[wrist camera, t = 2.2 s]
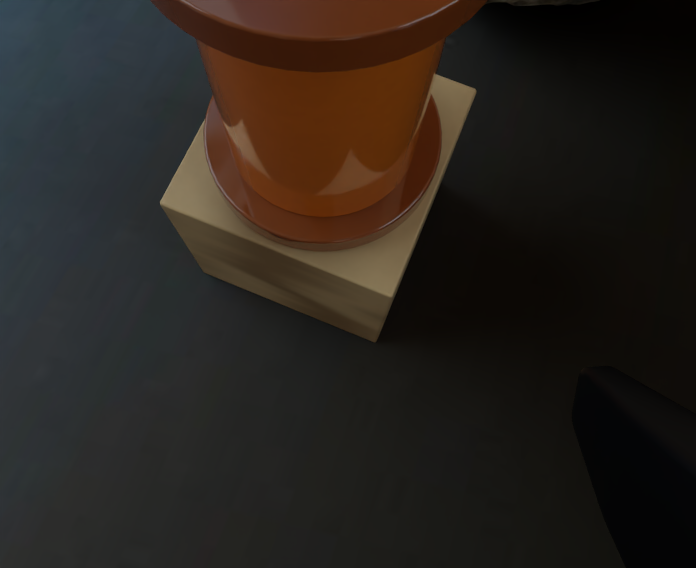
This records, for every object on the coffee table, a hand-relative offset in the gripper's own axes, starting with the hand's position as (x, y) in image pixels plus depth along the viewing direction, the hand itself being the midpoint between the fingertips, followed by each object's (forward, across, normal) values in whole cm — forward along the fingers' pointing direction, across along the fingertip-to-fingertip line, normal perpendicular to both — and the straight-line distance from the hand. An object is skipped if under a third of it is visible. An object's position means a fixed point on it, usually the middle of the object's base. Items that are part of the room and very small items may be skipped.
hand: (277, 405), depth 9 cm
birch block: (+15, -1, +4) cm, 16 cm away
